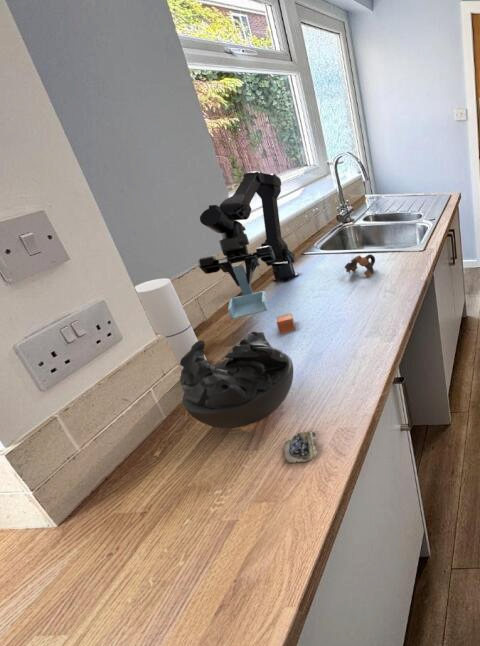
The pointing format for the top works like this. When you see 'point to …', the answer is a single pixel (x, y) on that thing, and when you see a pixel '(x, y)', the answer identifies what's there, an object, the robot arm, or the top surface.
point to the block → (285, 323)
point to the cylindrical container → (167, 315)
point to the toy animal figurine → (362, 262)
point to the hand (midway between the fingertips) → (243, 284)
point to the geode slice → (300, 447)
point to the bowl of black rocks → (236, 383)
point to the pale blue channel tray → (246, 298)
